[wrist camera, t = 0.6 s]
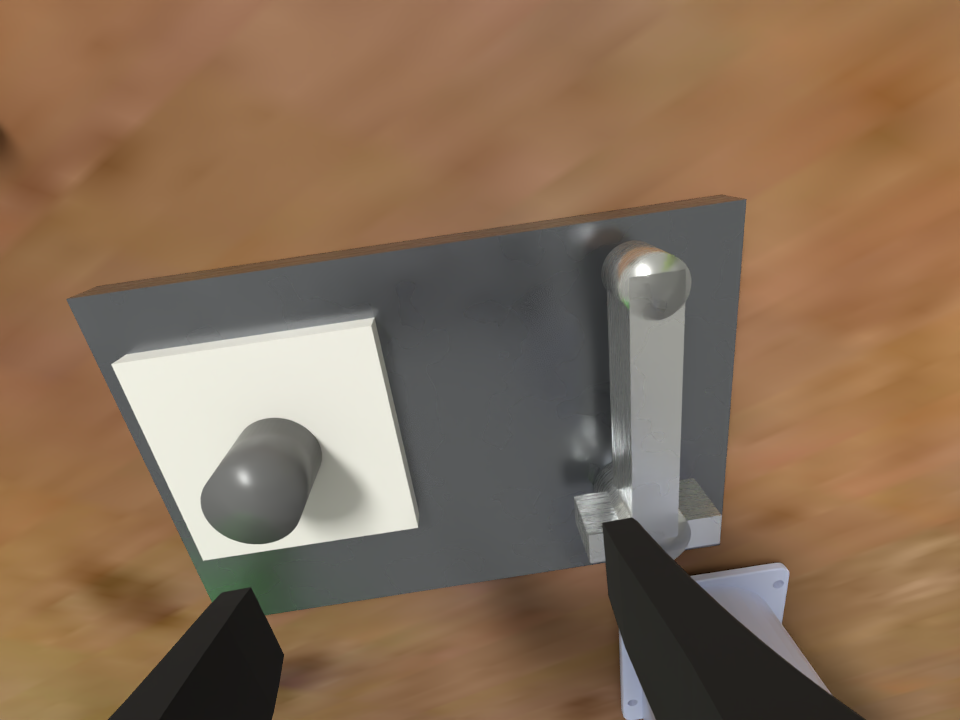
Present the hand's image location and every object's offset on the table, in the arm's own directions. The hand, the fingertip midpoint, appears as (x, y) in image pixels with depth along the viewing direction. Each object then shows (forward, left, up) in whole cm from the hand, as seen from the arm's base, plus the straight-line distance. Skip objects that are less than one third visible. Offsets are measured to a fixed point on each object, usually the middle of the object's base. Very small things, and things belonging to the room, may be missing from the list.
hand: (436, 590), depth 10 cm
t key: (0, -6, -8) cm, 10 cm away
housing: (-2, 0, -9) cm, 10 cm away
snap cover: (-1, +5, -8) cm, 10 cm away
